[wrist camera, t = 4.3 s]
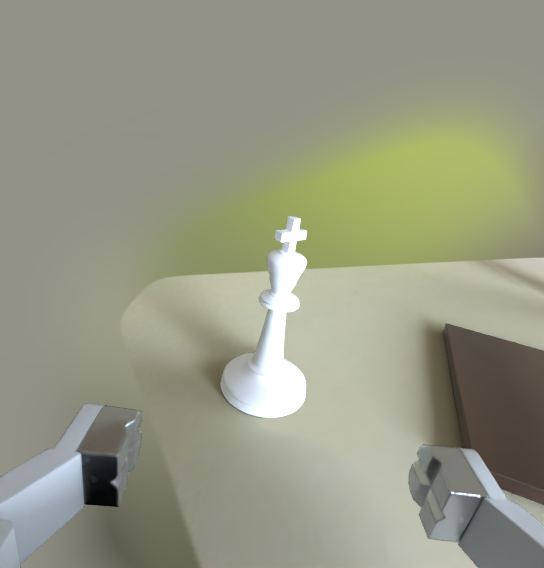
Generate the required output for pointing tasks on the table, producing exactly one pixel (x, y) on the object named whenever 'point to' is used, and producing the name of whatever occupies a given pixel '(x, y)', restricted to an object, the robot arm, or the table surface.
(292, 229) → the chess piece
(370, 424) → the table surface
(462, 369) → the board
